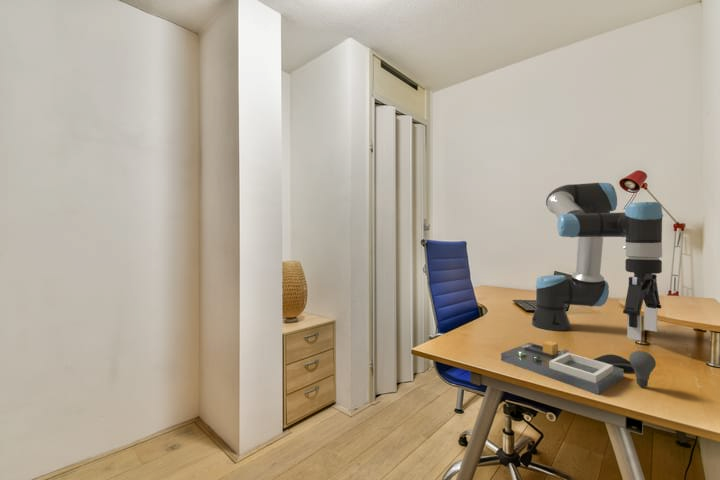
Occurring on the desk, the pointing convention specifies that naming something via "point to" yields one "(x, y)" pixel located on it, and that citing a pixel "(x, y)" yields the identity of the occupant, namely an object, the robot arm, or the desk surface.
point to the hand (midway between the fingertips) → (642, 334)
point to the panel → (538, 362)
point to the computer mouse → (616, 362)
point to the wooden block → (550, 347)
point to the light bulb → (642, 366)
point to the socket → (593, 377)
